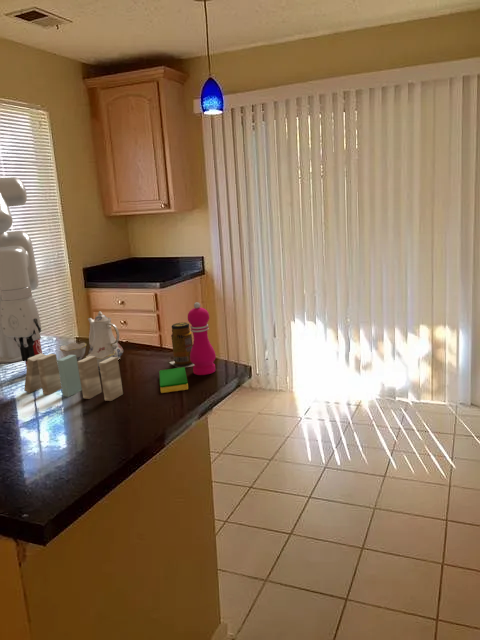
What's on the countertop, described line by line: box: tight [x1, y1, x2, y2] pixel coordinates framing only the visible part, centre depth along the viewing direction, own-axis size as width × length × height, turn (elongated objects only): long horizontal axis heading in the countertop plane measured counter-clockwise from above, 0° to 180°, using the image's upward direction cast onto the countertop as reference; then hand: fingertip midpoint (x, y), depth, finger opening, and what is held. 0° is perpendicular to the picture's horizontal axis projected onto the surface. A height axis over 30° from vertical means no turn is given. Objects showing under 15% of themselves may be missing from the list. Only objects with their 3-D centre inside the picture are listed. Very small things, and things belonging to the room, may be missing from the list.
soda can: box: [24, 338, 43, 368], centre depth 173 cm, size 5×5×12 cm
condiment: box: [168, 322, 194, 368], centre depth 168 cm, size 7×8×12 cm
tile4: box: [77, 356, 103, 400], centre depth 148 cm, size 2×5×10 cm, turn 154°
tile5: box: [99, 357, 124, 402], centre depth 145 cm, size 2×5×10 cm, turn 154°
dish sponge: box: [158, 367, 189, 394], centre depth 152 cm, size 7×14×2 cm, turn 8°
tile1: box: [24, 352, 46, 394], centre depth 156 cm, size 2×5×10 cm, turn 155°
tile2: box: [37, 353, 62, 396], centre depth 154 cm, size 2×5×10 cm, turn 154°
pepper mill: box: [187, 301, 217, 376], centre depth 157 cm, size 7×7×20 cm
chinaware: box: [59, 311, 124, 373], centre depth 177 cm, size 28×17×17 cm, turn 48°
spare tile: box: [57, 355, 82, 398], centre depth 151 cm, size 2×5×10 cm, turn 155°
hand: (28, 359), depth 156 cm, fingers closed
